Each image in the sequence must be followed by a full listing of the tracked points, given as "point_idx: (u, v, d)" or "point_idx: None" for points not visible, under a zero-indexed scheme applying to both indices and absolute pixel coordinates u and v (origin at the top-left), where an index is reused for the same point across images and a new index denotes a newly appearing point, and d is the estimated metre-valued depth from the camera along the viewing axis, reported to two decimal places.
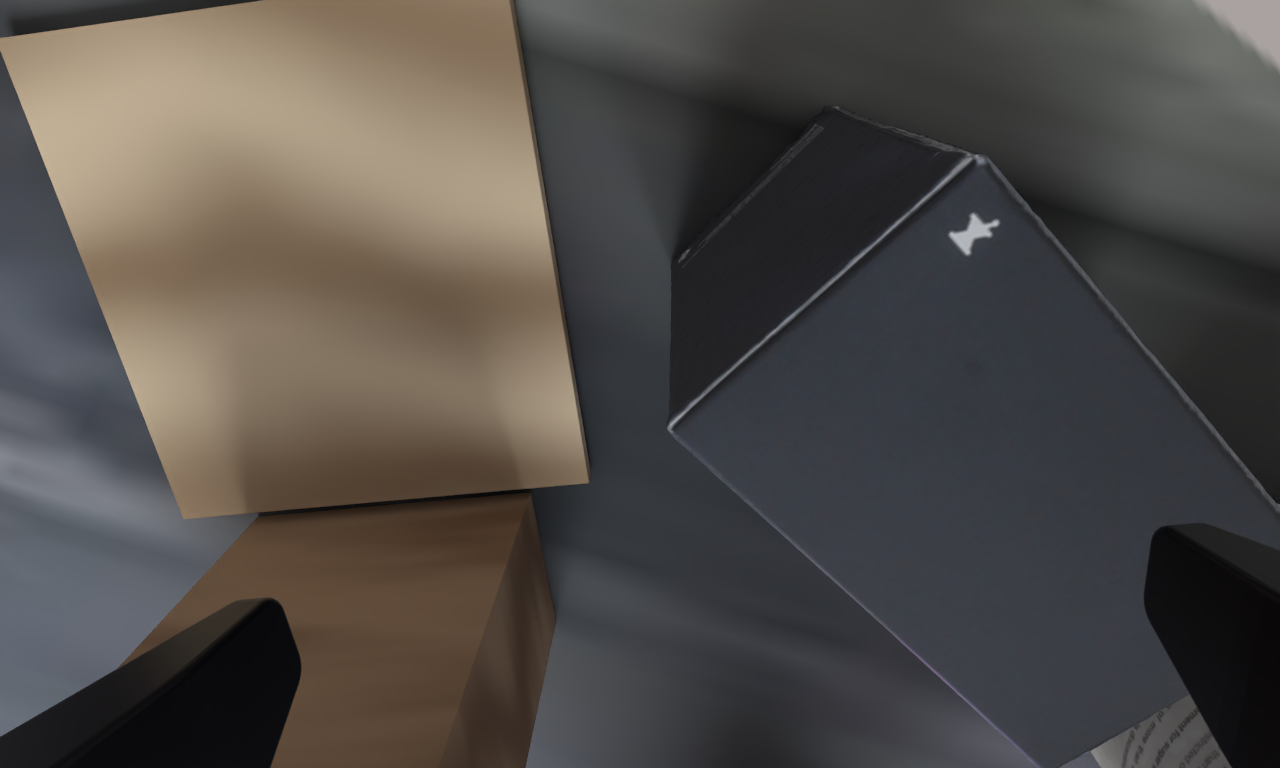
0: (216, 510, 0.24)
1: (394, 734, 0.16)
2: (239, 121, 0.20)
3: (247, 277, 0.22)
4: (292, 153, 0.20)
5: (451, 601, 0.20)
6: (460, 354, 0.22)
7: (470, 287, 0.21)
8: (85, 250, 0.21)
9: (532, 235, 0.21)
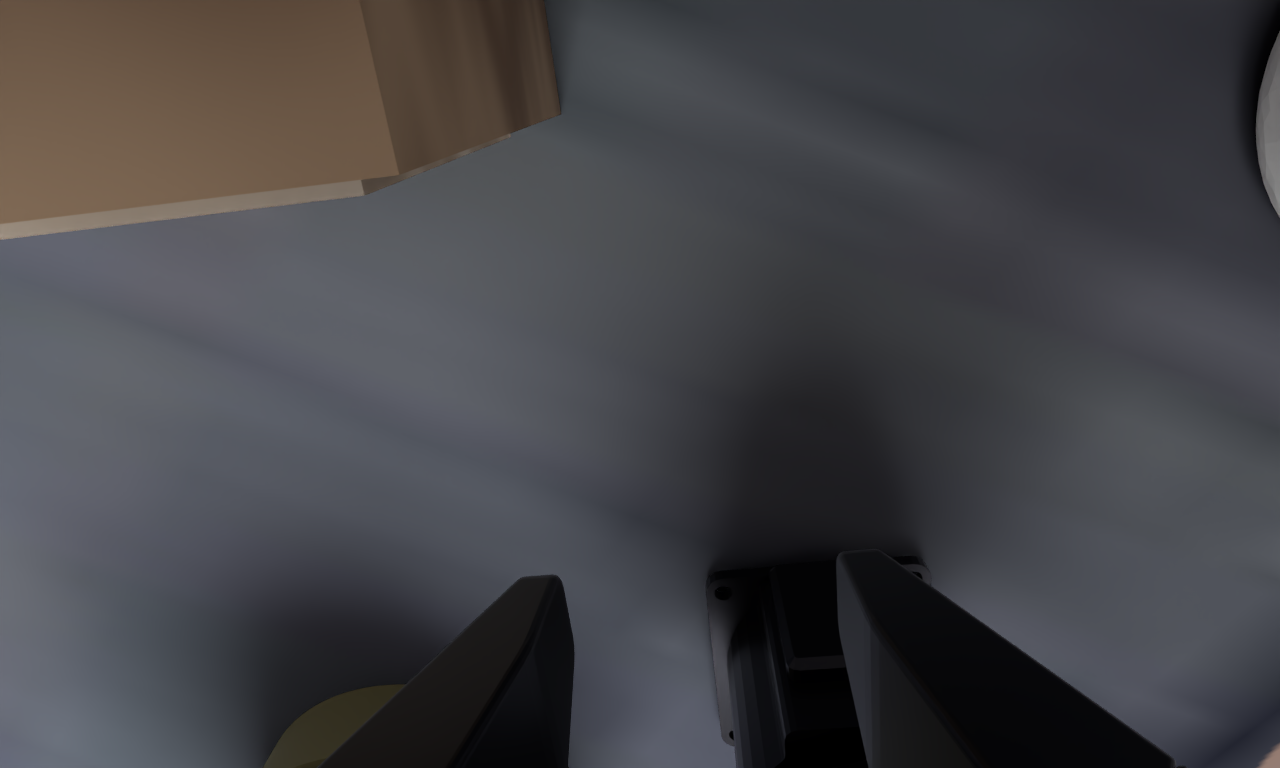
0: None
1: None
2: None
3: None
4: None
5: None
6: None
7: None
8: None
9: None
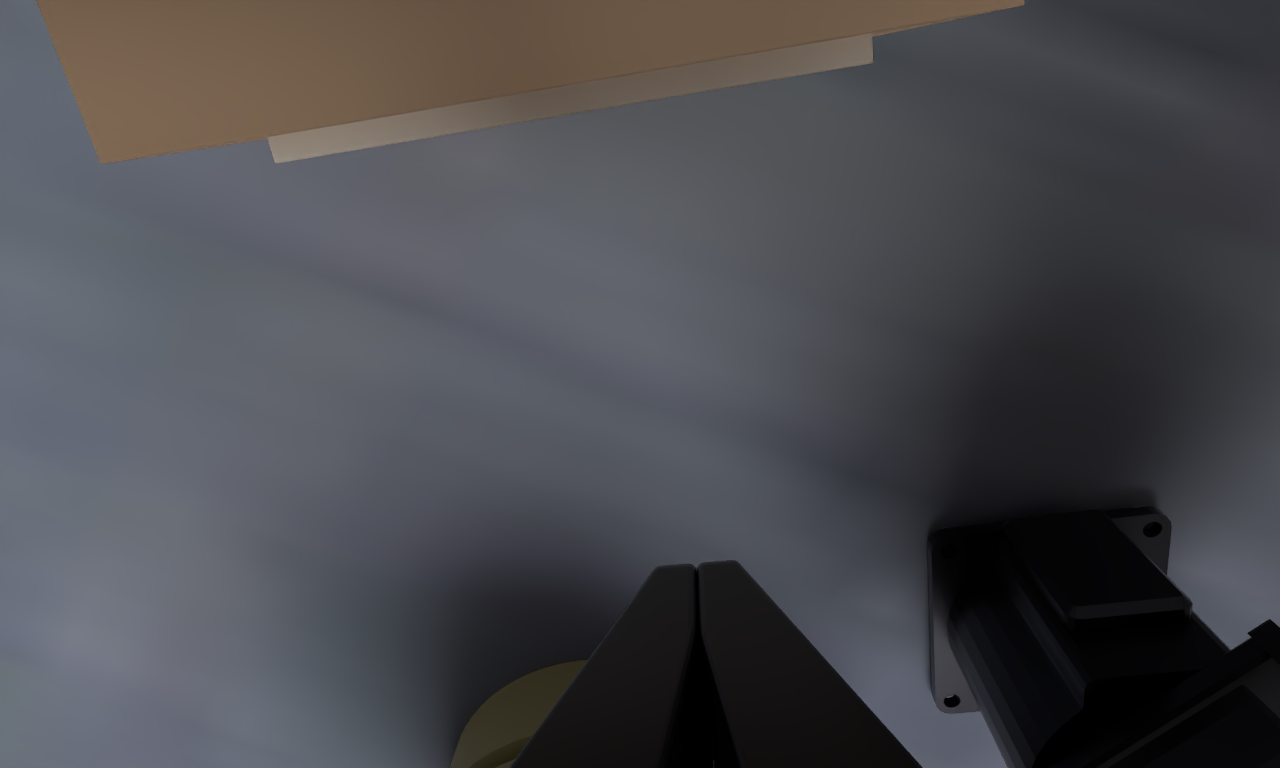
0: None
1: None
2: None
3: None
4: None
5: None
6: None
7: None
8: None
9: None
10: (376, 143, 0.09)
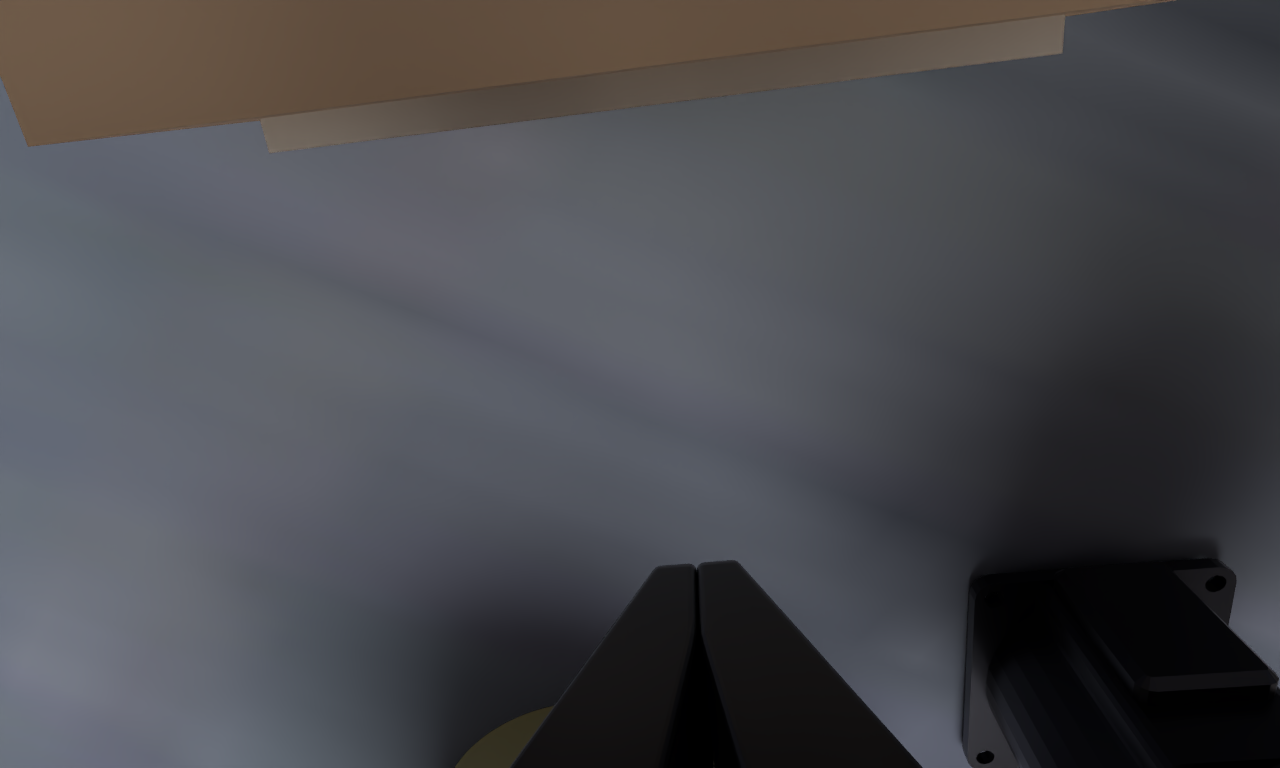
0: None
1: None
2: None
3: None
4: None
5: None
6: None
7: None
8: None
9: None
10: (403, 132, 0.07)
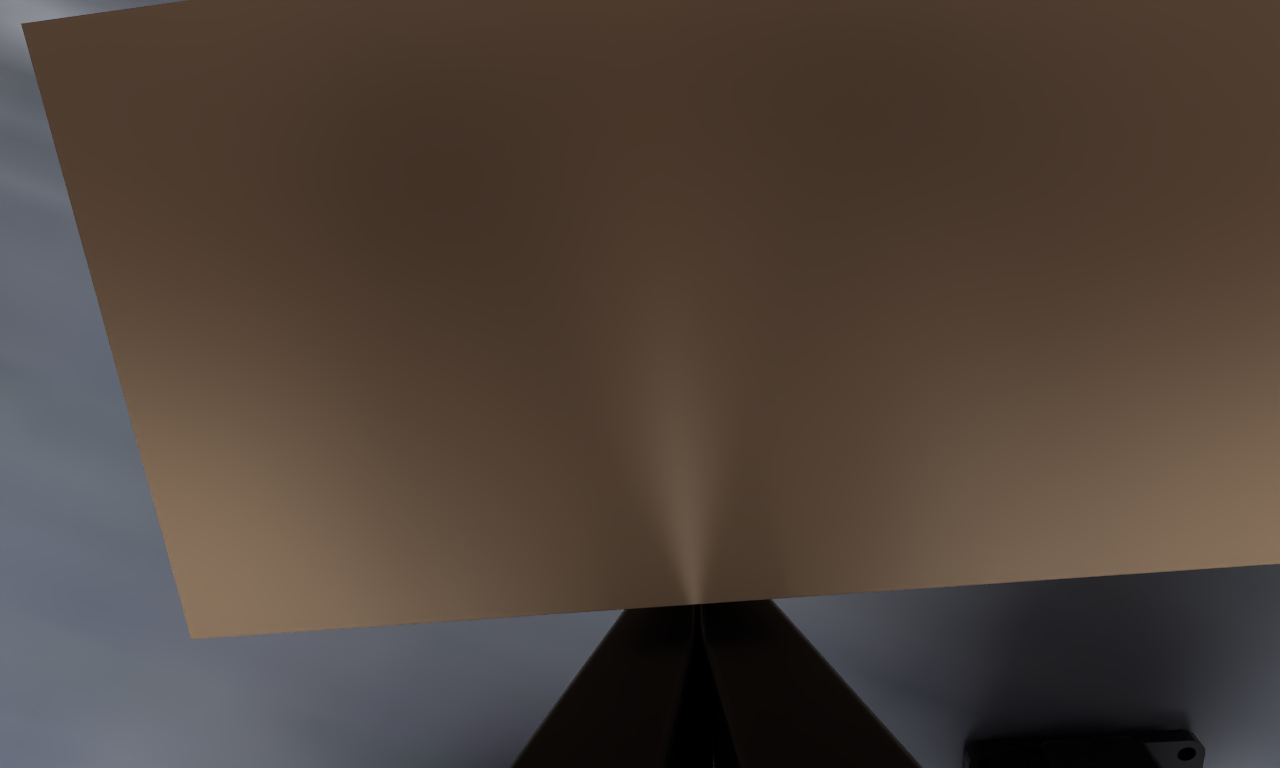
0: None
1: None
2: None
3: None
4: None
5: None
6: None
7: None
8: None
9: None
10: None
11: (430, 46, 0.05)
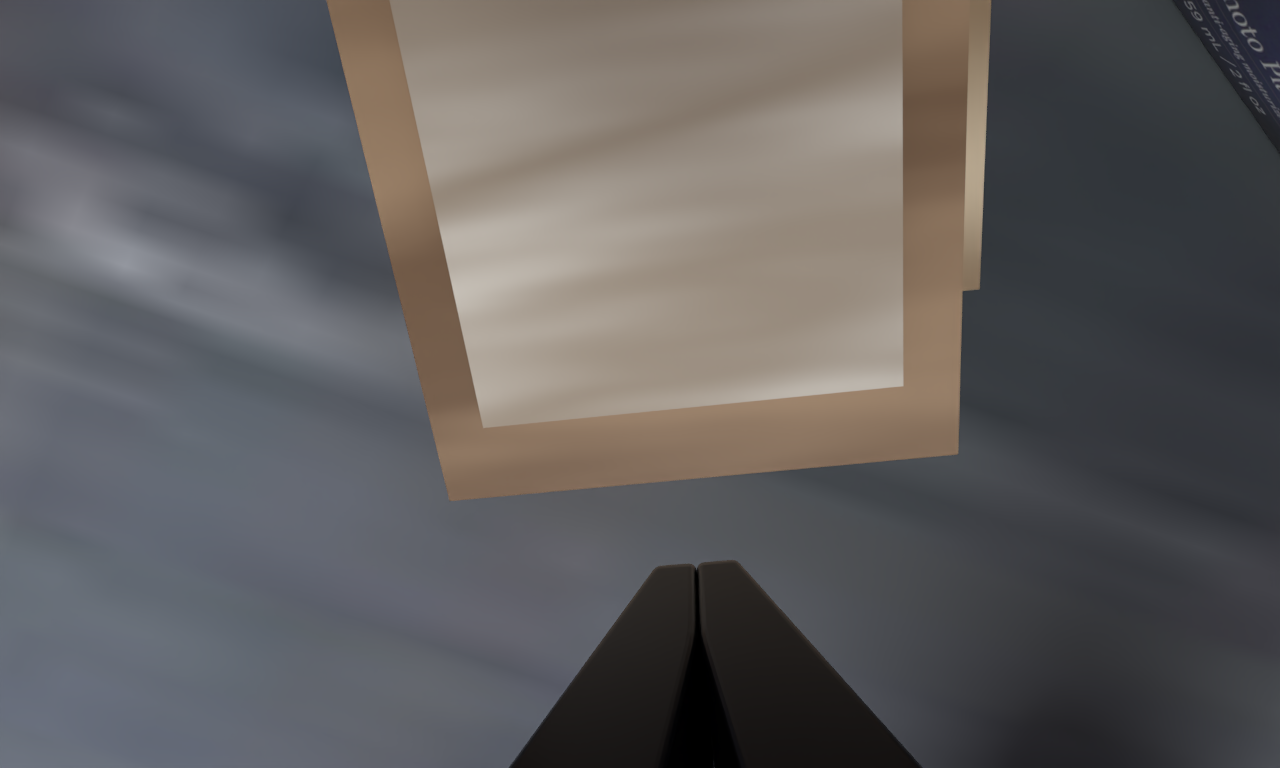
0: None
1: None
2: None
3: None
4: None
5: None
6: None
7: None
8: None
9: None
10: None
11: None
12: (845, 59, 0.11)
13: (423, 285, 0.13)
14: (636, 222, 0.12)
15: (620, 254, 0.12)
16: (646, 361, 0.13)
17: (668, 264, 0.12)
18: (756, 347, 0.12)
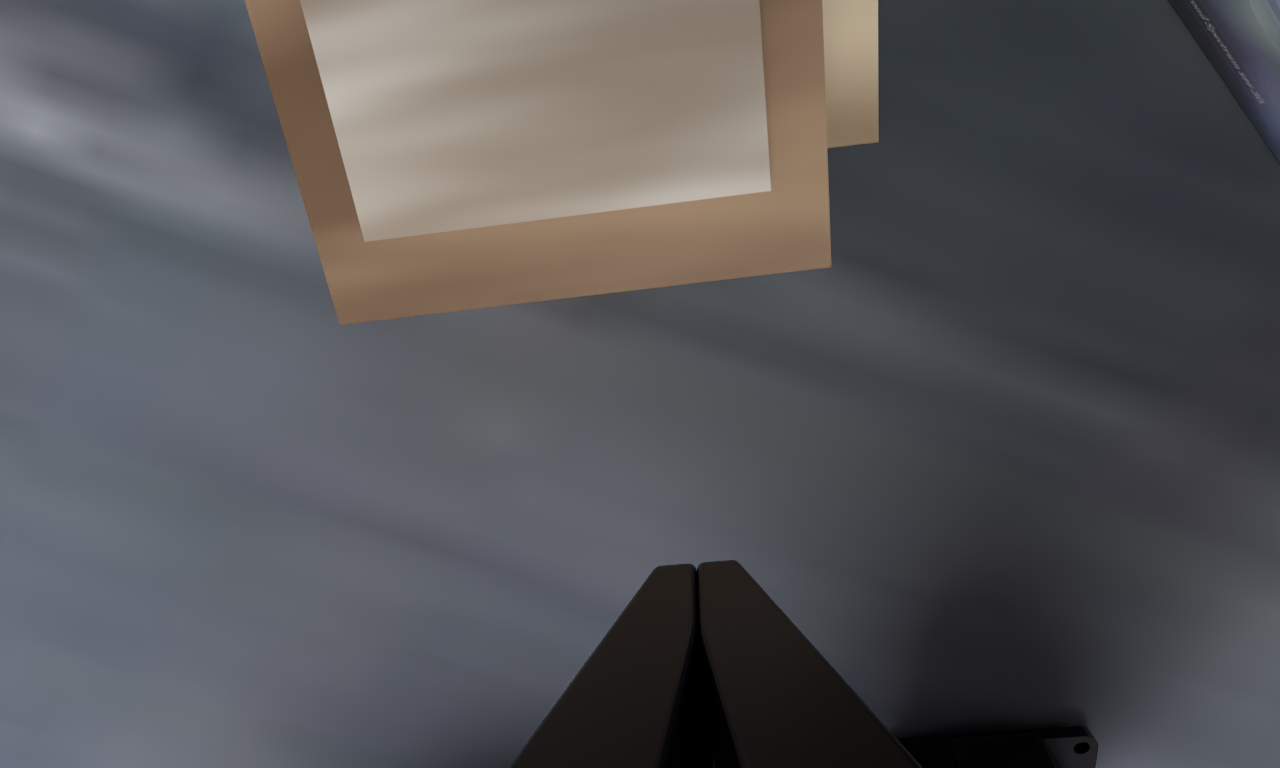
0: None
1: None
2: None
3: None
4: None
5: None
6: None
7: None
8: None
9: None
10: None
11: None
12: None
13: (298, 93, 0.13)
14: (499, 18, 0.12)
15: (486, 53, 0.12)
16: (519, 168, 0.13)
17: (533, 63, 0.12)
18: (626, 151, 0.13)
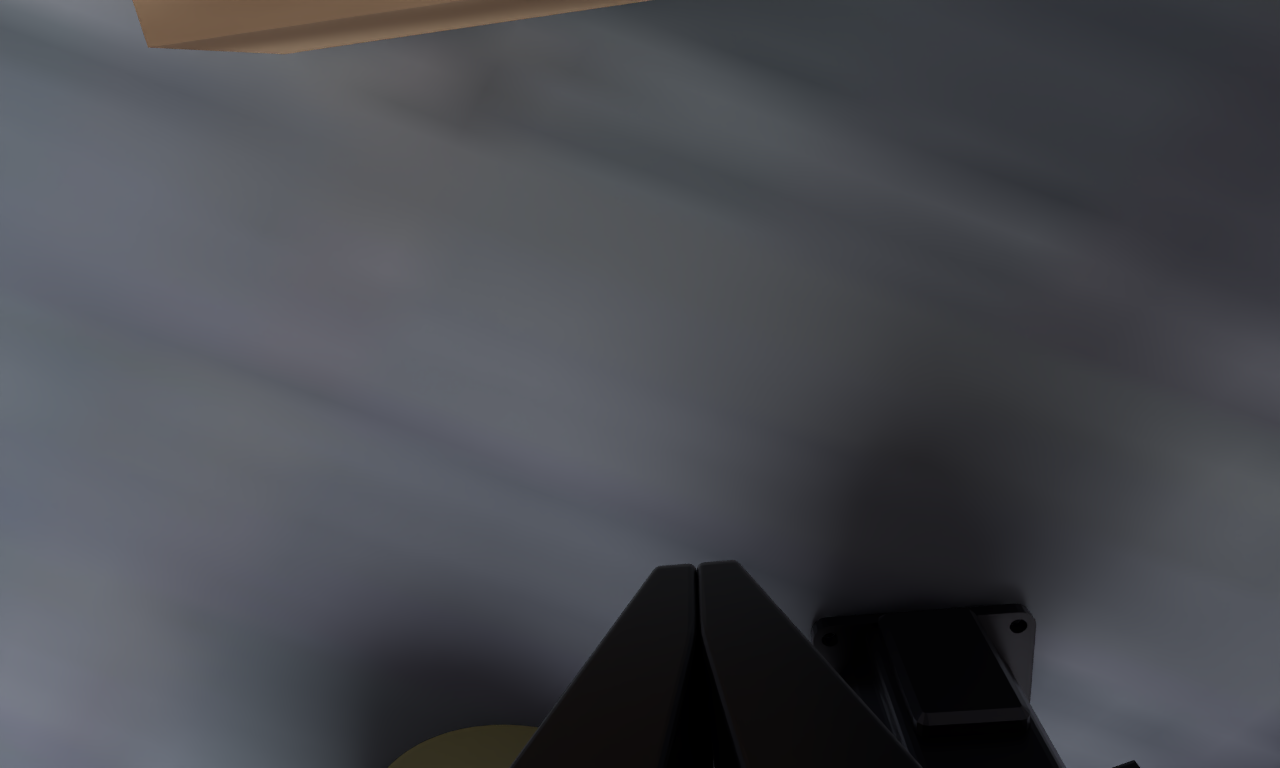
0: None
1: None
2: None
3: None
4: None
5: None
6: None
7: None
8: None
9: None
10: None
11: None
12: None
13: None
14: None
15: None
16: None
17: None
18: None
